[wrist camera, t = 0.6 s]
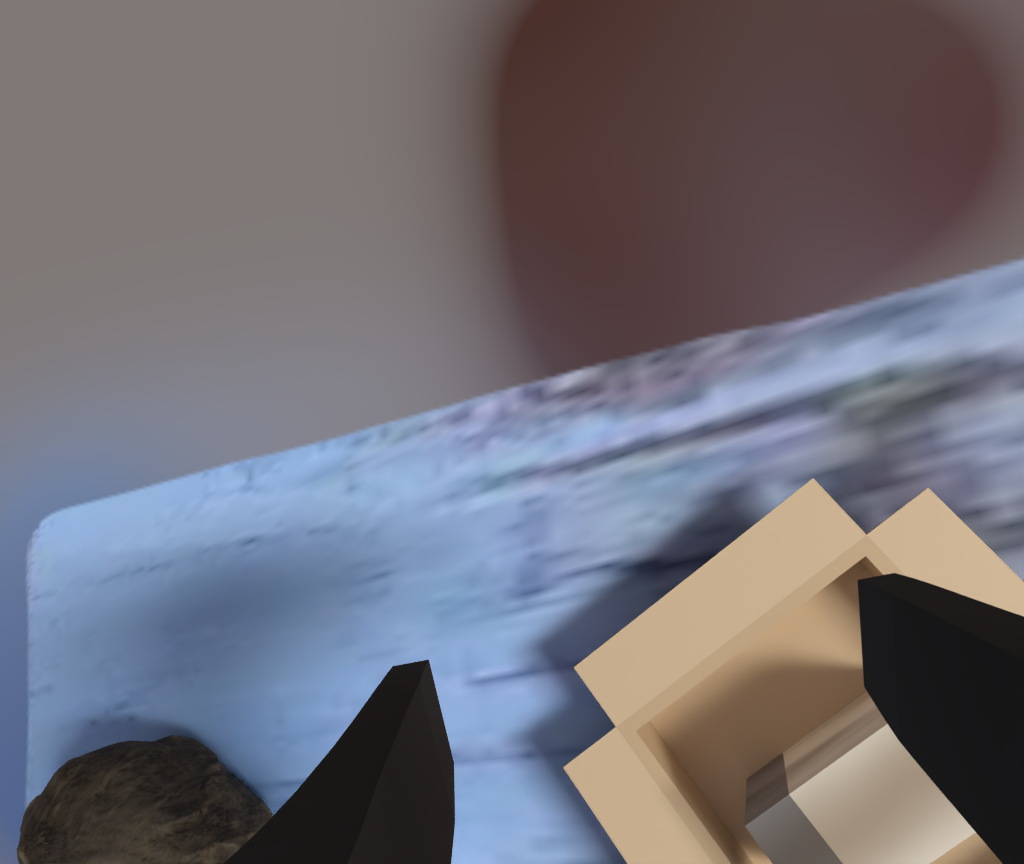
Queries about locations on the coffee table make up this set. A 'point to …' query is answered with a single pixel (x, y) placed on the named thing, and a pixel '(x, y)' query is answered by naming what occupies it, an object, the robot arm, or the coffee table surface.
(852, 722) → the block
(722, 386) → the coffee table surface
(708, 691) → the carton
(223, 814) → the rock
